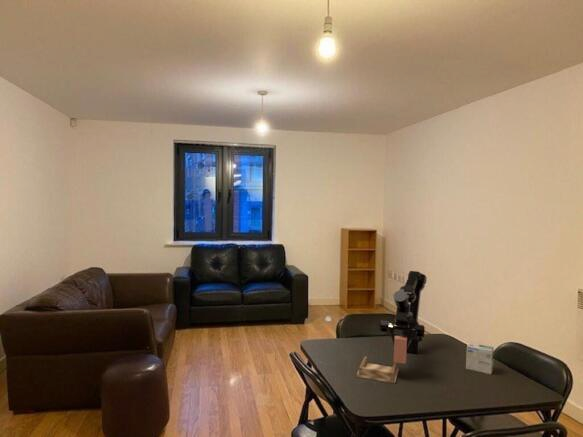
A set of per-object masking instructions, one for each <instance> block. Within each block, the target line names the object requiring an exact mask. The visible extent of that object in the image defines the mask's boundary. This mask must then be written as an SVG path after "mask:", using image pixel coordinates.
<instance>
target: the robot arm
mask: <svg viewBox="0 0 583 437" xmlns="http://www.w3.org/2000/svg"><path fill="white" fill-rule="evenodd" d="M407 274H408V275H407V279H406V282H405V284H404V285H403V286H401V287H400V288H399V290H397V291H395V292H394V293H393V300H394V304H395V306H396V313H395V317H394V324H393V323H390V321H389V320H383V319H381V320H379V325H378V326H379V332H381V333H386V334H387V335H389V337H390V339H391V342H392V346H393V347H394V338H395V331H396V330H397V331H402V335H401V336H402V337H407V354H412V355H419V350H420V349H419V343H421V342H423V338H424V337H425V328H426V327H425V326H424V325H423V324H420V323H419V320H418V319H419V311H420V310H419V309H420V302H421V294H422V293H421V292H422V291H423V290H424V289H425V286H426V283H427V281H428V280H427V276H426V275H425V273H424V274H423V273H421V272H420V271H417V270H411V271H409V272H408V273H407Z"/></svg>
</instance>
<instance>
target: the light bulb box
mask: <svg viewBox="0 0 583 437" xmlns="http://www.w3.org/2000/svg"><path fill="white" fill-rule="evenodd" d="M494 348H495V347H494V346H492V345H487V344H486V345H485V344H480V343H476V342H475V343H474V342H468V343H467V345H466V352H465V353H466V356H465V357H466V359H465V369H466V370H470V371H475V372H478V373H482V374H483V373H484V374H487V375H492V372H493V370H494V352H495V351H494V350H495V349H494Z"/></svg>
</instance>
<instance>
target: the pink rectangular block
mask: <svg viewBox="0 0 583 437" xmlns="http://www.w3.org/2000/svg"><path fill="white" fill-rule="evenodd" d="M407 354H408V353H407V337H403V335H394V346H393V360H392V362H393V363H394V362H396V363H397V364H407Z"/></svg>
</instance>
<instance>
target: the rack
mask: <svg viewBox="0 0 583 437" xmlns="http://www.w3.org/2000/svg"><path fill="white" fill-rule="evenodd" d="M398 373H399V368H398V367H397V362H393V363H392V366H388V365H387V366H386V365H383V364H382V365H381V364H377V363H376V364H374V363H368V356H366V355H364V357H363V359H362V361H361V363H360V365H359V367H358V371H357V373H356V377H357V378H364V379H368V380H369V379H370V380H374V381H380V382H385V383H392V384H396V382H397V378H398Z"/></svg>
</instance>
